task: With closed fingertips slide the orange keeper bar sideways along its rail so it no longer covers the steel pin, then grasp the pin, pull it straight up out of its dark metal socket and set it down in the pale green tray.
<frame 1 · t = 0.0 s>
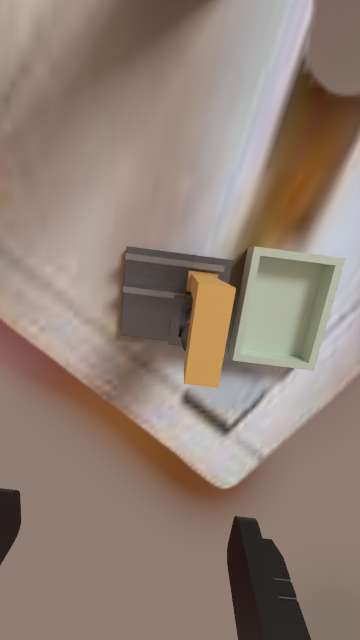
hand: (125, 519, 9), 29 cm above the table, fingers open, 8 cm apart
pin: (195, 318, 36), point 1 cm above the table, touching hitch
keeper: (202, 315, 28), point 9 cm above the table, slide at 0.0 cm
tray: (276, 307, 37), on the table
hitch: (174, 297, 36), on the table
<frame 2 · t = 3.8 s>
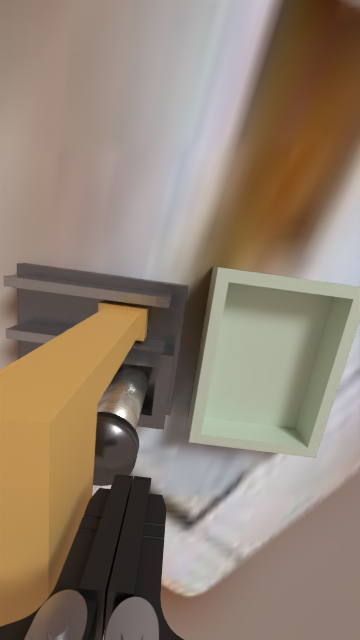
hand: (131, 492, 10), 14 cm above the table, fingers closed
pin: (133, 374, 23), point 1 cm above the table, touching hitch
keeper: (92, 397, 15), point 9 cm above the table, slide at 1.2 cm, touching gripper
tray: (259, 356, 24), on the table
hitch: (103, 340, 24), on the table
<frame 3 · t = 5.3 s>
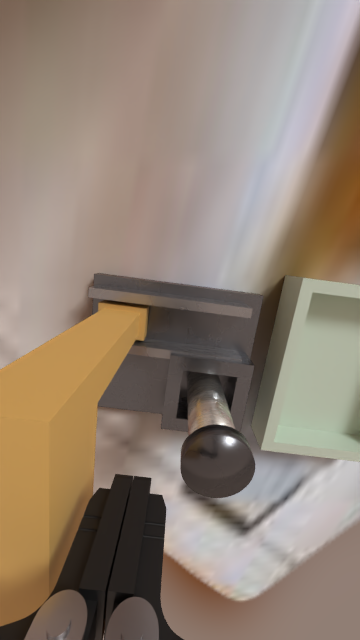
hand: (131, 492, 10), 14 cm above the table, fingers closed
pin: (203, 382, 23), point 1 cm above the table, touching hitch
keeper: (92, 396, 15), point 9 cm above the table, slide at 7.9 cm, touching gripper
tray: (326, 364, 24), on the table
hitch: (171, 349, 24), on the table
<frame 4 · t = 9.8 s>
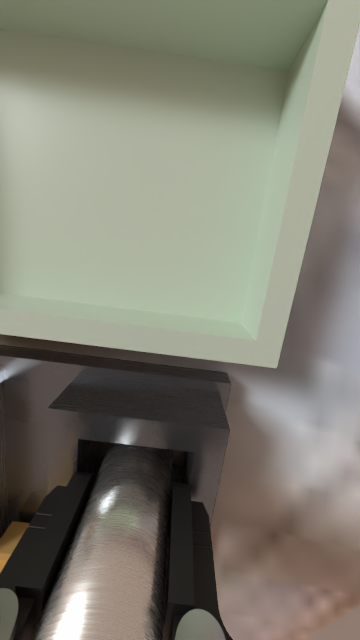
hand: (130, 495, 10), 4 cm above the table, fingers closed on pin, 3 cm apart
pin: (142, 442, 13), point 1 cm above the table, touching gripper, hitch
tray: (105, 194, 11), on the table
hitch: (100, 471, 15), on the table
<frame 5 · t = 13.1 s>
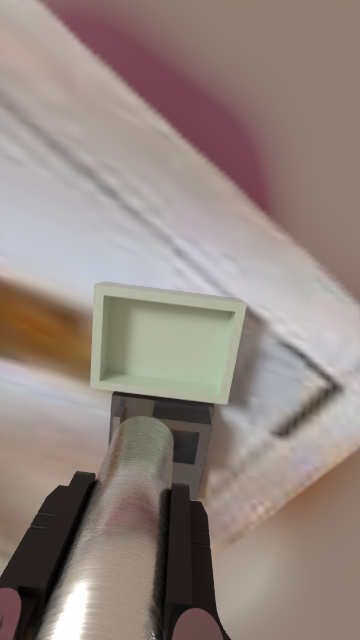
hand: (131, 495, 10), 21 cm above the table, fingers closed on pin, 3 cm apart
pin: (143, 442, 13), point 18 cm above the table, touching gripper
tray: (166, 338, 30), on the table
hitch: (157, 444, 34), on the table
when the fingers open (5 cm above the table, at t = 16.2 s): pin drops 1 cm, resting on tray.
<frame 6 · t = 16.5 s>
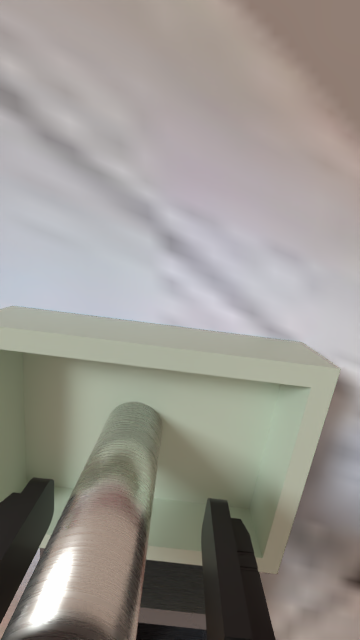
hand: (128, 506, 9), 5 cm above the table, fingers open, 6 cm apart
pin: (134, 426, 14), point 1 cm above the table, touching tray
tray: (148, 418, 15), on the table
hitch: (135, 596, 18), on the table
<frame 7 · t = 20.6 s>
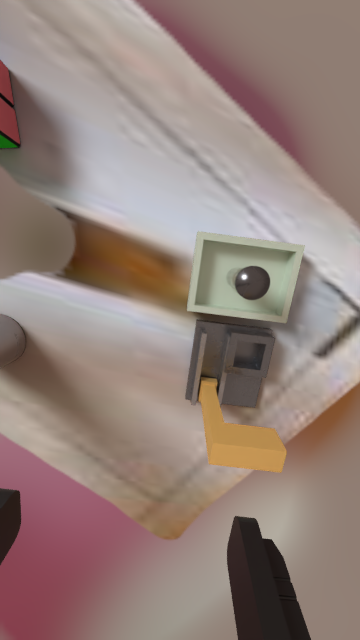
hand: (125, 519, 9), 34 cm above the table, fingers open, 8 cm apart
pin: (236, 277, 40), point 1 cm above the table, touching tray
keeper: (232, 416, 36), point 9 cm above the table, slide at 8.0 cm
tray: (239, 277, 40), on the table
hitch: (226, 363, 44), on the table
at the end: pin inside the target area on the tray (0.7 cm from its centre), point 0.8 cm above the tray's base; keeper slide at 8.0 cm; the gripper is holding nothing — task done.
